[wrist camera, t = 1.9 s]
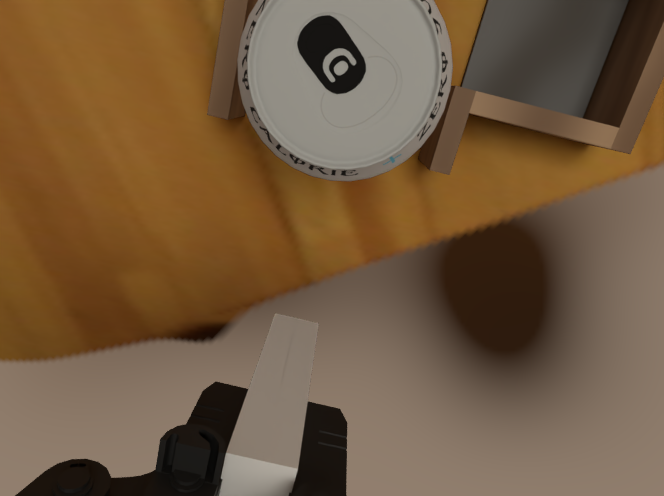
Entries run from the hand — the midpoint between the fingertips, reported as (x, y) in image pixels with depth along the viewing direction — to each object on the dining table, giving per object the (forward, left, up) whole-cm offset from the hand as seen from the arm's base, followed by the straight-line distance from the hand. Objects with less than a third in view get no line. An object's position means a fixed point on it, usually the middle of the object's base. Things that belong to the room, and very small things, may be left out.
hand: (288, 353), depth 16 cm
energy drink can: (0, +9, -14) cm, 16 cm away
